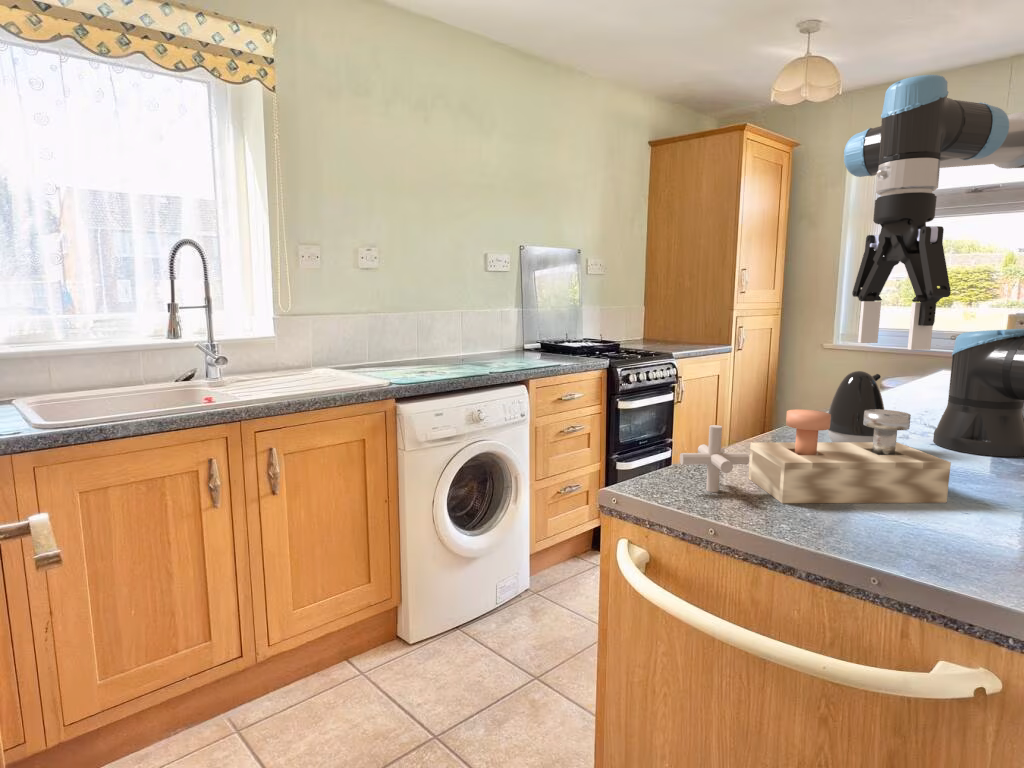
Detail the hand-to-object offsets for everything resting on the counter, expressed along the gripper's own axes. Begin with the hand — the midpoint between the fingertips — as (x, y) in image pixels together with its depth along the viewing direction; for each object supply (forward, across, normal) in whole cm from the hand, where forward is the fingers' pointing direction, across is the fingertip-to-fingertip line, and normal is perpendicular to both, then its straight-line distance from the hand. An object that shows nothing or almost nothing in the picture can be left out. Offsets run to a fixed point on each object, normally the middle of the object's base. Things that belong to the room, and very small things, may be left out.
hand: (891, 346), depth 92 cm
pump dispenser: (+22, -26, +11) cm, 36 cm away
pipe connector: (+22, 0, -26) cm, 34 cm away
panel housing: (+22, 0, -6) cm, 23 cm away
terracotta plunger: (+18, 0, -12) cm, 21 cm away
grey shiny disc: (+18, 0, 0) cm, 18 cm away
